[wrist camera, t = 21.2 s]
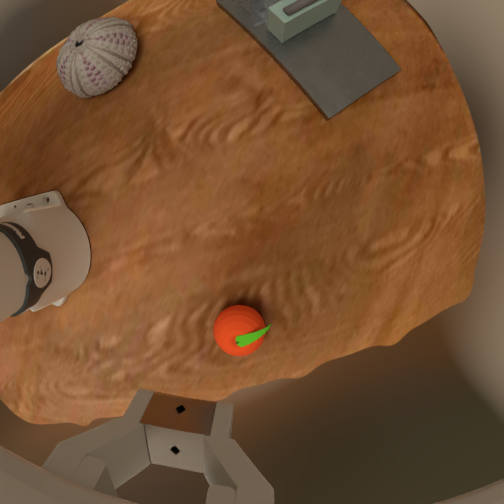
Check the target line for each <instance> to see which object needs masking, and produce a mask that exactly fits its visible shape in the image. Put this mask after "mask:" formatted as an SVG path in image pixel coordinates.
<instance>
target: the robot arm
mask: <svg viewBox="0 0 504 504" xmlns="http://www.w3.org/2000/svg"><path fill="white" fill-rule="evenodd" d="M48 198H49V201H48ZM90 259H91V253H90V245H89V240H88V237H87V234H86V231H85V229H84V227H83V225H82V224H81V222H80V221H79V219H78V218H77V217H76V216H75V214H73V213H72V212H71V211H70V210H69V209H68V208H67V206H66V205H65V202H64V200H63V198H62V196H61V194H60V193H59V192H58V191H56V190H54V191H50V192H46V193H42V194H38V195H34V196H31V197H27V198H23V199H20V200H16V201H13V202H9V203H6V204H3V205H1V206H0V322H2V321H3V320H5V319H6V318H8V317H9V316H10V317H12V316H17V315H19V314H22V313H24V312H26V311H28V310H29V309H30V310H31V311H38V310H40V309H42V308H44V307H46V306H48V305H50V304H53V305H55V306H61V305H63V304H64V303H65V301H66V299H67V298H68V295H69V294H70V293H71V292H72V291H74V290H76V289H77V288H78V287H79V286H80V285H81V284H82V283H83V282H84V280H85V278H86V276H87V274H88V271H89V267H90ZM233 407H234V405H233V403H227V402H214V401H206V400H199V399H192V398H186V397H181V396H176V395H171V394H166V393H161V392H155V391H151V390H146V389H142V388H141V389H139V390H138V391H137V393H136V395H135V396H134V398H133V400H132V402H131V403H130V405H129V407H128V409H127V410H126V412H125V414H124V416H123V418H122V419H121V418H116V419H114V420H111V421H109V422H107V423H105V424H102V425H100V426H98V427H95V428H93V429H91V430H88V431H86V432H84V433H81V434H79V435H76V436H74V437H72V438H69V439H67V440H64V441H62V442H59V443H58V445H57V446H56V447H55V449H54V450H53V452H52V453H51V455H50V456H49V458H48V459H47V460H46V462H45V463H44V465H43V466H42V467H39V466H37V465H35V464H33V463H31V462H29V461H27V460H25V459H23V458H21V457H20V456H18V455H16V454H14V453H12V452H11V451H9V450H7V449H5V448H4V447H2V446H0V504H138V503H134V502H130V501H127V500H124V499H120V498H118V496H117V493H116V491H115V489H116V488H118V487H119V486H120V485H122V484H123V483H125V482H126V481H128V480H129V479H130V478H132V477H133V476H135V475H136V474H137V473H139V472H140V471H142V470H143V469H144V468H146V467H147V466H148V465H150V463H154V464H159V465H164V466H170V467H176V468H180V469H185V470H190V471H195V472H201V473H204V475H205V477H206V479H207V481H208V483H209V485H210V487H209V489H208V494H207V499H206V504H274V489H273V488H272V486H271V485H270V484H269V483H268V482H267V480H266V479H265V478H264V477H263V476H262V474H261V473H260V472H259V471H258V469H257V468H256V467H255V466H254V464H253V463H252V462H251V461H250V459H249V458H248V457H247V455H246V454H245V453H244V452H243V450H242V449H241V448H240V446H239V445H238V444H237V442H236V441H235V440H234V439H231V429H232V418H233ZM434 504H504V479H502V480H499V481H497V482H495V483H492V484H490V485H487V486H485V487H482V488H480V489H477V490H475V491H472V492H469V493H466V494H464V495H461V496H457V497H454V498H451V499H448V500H445V501H442V502H438V503H434Z"/></svg>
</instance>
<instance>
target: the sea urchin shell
mask: <svg viewBox="0 0 504 504" xmlns="http://www.w3.org/2000/svg"><path fill="white" fill-rule="evenodd" d="M135 34H136V33H135V32H134V30H133V26H132V24H130V23H129V21H126V20H121V19H120V18H116V17H111V18H108V17H107V18H98V19H92V20H89V21H88V22H85V23H82V24H81V25H80V26H78V27H77V28H76V29H75V30H74V31H73V32H71V35H70V36H69V38H68V39H67V40H66V42H65V43H64V45H63V47H61V49H60V51H59V55H58V58H57V65H56V66H57V72H58V75H59V76H60V78H61V80H60V81H61V82H62V83H63V84H64V88H66V89H68V92H69V91H71V92H72V93H73V94H76V95H78V97H82V98H83V97H85V98H87V97H89V98H90V97H91V96H93V95H94V96H97V95H100V94H104V93H105V92H106V91H108V90H110V89H112V88H113V87H114V86H116V85H118V82H120V81H121V79H122V77H123V76H124V75H126V74H127V73H128V70H129V69H130V68H132V62H133V60H135V56H136V52H137V51H136V50H137V38H136V36H135Z"/></svg>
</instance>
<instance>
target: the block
mask: <svg viewBox="0 0 504 504" xmlns="http://www.w3.org/2000/svg"><path fill="white" fill-rule="evenodd" d="M280 1H282V0H265V7H266V8H267V9H268V8H269V7H271V6H272V5H274V4H276V3H278V2H280Z"/></svg>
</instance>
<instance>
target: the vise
mask: <svg viewBox="0 0 504 504" xmlns="http://www.w3.org/2000/svg"><path fill="white" fill-rule="evenodd" d="M216 2H217V5H218V6H219V7H220V8H221V9H222V10H223V11H224V12H226V13H227V14H228V15H229V16H230V17H231V18H232V19H233V20H234V21H235V22H236V23H238V24H239V25H240V26H241V27H242V28H243V29H244V30H245V31H246V32H247V33H248V34H249V35H250V36H251V37H252V38H253V39H254V40H255V41H256V42H257V43H258V44H259V45H260V46H261V47H262V48H263V49H264V50H265V51H266V52H267V53H268V54H269V55H270V56H271V57H272V58H273V59H274V60H275V61H276V63H277V64H278V65H279V66H280V67H281V68H282V69H283V70H284V71H285V72H286V73H287V74H288V76H289V77H290V78H291V79H292V80H293V81H294V82H295V83H296V84H297V86H298V87H299V88H300V89H301V90H302V91H303V93H304V94H305V95H306V96H307V97H308V98H309V100H310V101H311V102H312V103H313V104H314V105H315V107H316V108H317V109H318V110H319V112H320V113H321V114H322V115H323V116H324V118H325V119H326V120H329V119H330V118H332V117H333V116H334V115H336V114H337V113H339V112H340V111H341V110H343V109H344V108H346V107H347V106H349V105H350V104H351V103H353V102H354V101H356V100H357V99H359V98H360V97H361V96H363V95H364V94H366V93H367V92H369V91H370V90H372V89H373V88H375V87H376V86H378V85H379V84H381V83H382V82H384V81H385V80H387V79H388V78H390V77H391V76H393V75H394V74H396V73H397V72H399V71H400V70H401V68H400V67H399V66H398V65H397V63H396V62H395V61H394V60H393V59H392V57H391V56H390V55H389V54H388V53H387V51H386V50H385V49H384V48H383V47H382V46H381V44H380V43H379V42H378V41H377V40H376V39H375V38H374V37H373V35H372V34H371V33H370V32H369V31H368V30H367V29H366V28H365V27H364V26H363V25H362V24H361V23H360V22H359V21H358V19H357V18H356V17H355V16H354V15H353V14H352V13H351V12H350V11H349V10H348V9H347V8H345V7H344V6H343V5H342V4H341V3H340V5H339V8H338V10H337V12H336V13H334V14H332V15H330V16H328V17H327V18H325V19H323V20H321V21H319V22H317V23H316V24H314V25H312V26H310V27H309V28H307V29H305V30H303V31H302V32H300V33H298V34H297V35H295V36H293V37H292V38H290V39H288V40H287V41H285V42H283V43H281V42H280V41H279V40H278V39H277V38H276V37H275V36H274V35H273V34H272V33H271V32H270V31H269V30H268V9H267V8H266V7H265V0H216Z"/></svg>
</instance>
